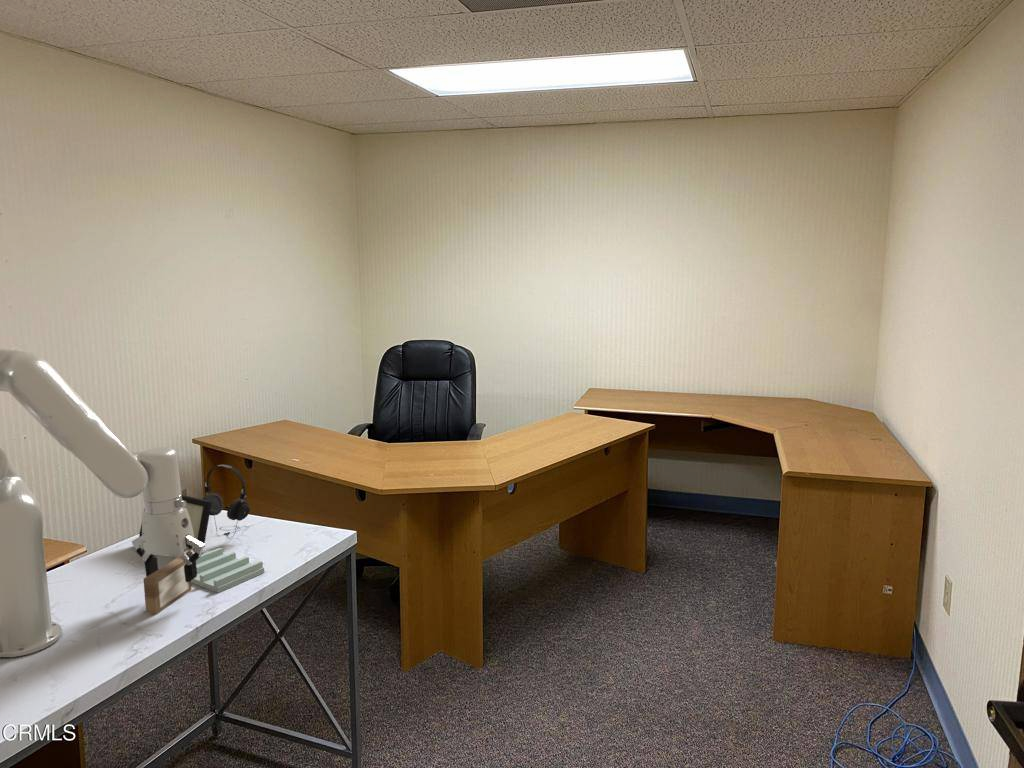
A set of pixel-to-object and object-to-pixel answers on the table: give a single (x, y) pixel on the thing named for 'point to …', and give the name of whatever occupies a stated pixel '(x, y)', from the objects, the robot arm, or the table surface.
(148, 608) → the long brown rectangular block
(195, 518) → the picture frame
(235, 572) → the display rail
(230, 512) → the headphones
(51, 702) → the table surface
